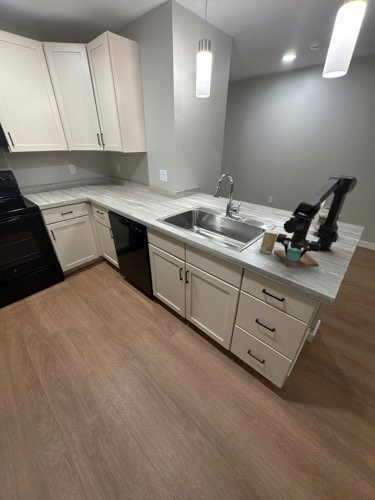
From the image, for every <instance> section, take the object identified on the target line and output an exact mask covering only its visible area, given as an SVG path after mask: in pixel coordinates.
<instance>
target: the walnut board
mask: <svg viewBox="0 0 375 500" xmlns="http://www.w3.org/2000/svg"><path fill="white" fill-rule="evenodd" d="M302 250H303V249H301V250H300V251H301V252H302ZM273 253H274V254H275V255H276V257H277V258H278V259H279V260H280V261H281V262H282V263H283V264H284V265H285V266H286V267H287V268H288V267H290V268H291V267H319V265H320V264H319V263H318V262H317V261H316V260H315V259H314V258H313V257H311V256H310V255H309V253H308V252H306V253H305V254H304V255H303V256H302V257H301V258H300V259H299V260H298V261H296V262H292V261H289V260H287V258H286V254H285V249H283V250H282V249H279V250H278V249H277V250H276V249H273Z"/></svg>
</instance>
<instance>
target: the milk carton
mask: <svg viewBox="0 0 375 500" xmlns="http://www.w3.org/2000/svg"><path fill="white" fill-rule="evenodd" d="M325 202H326V200H325V201H324V202H323V203H322V204H321V209H320V210H319V211H321V210H322V209H323V208H324V205H325ZM318 213H319V212H318ZM318 213H317V214H316V216H315V219H312V222H311V225H313V226H314V224H315V223H317V222H318V219H319V215H318Z"/></svg>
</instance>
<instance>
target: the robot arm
mask: <svg viewBox="0 0 375 500" xmlns="http://www.w3.org/2000/svg"><path fill="white" fill-rule="evenodd" d="M357 183H358V179H357V178H356V176H351V175H344V174H343V175H342V174H339V175H336V174H335V175H330V177H329V178H328V180H327V181H326V182H325V183H324V184H323V185H322V186H321V187H320V188H319V189H318V190H317V191H316V192H315V193H314V194H313V195H312V196H309V197H306V198H305V199H304V200H301V202H300V203H299V204H298V206H297V207H296V208H295V210H294V211H293V213H292V214H291V216H292V217H290V218H289V220H287V221H285V222H284V223H283V229H284V231H285V233H287V234H292V236H291V238H290V237H287V236H288V235H287V234H284V233H277V237H276V241H275V243H279V244H281V246H283V247H284V250H285V254H286V255H287V252H288V249H289V248H295V249H298V250H302V252H301V254H300V257H299V259H300V258H301V257H302V256H303V255H304V254H305V253H308V252H316V253H318V252H332V251H333V249H331V247H332V244H333V243H336V242H337V241H338V240H339V233H338V230H339V227H338V224H337V222H338V220H339V219H338V217H339V214H340V215H341V211H342V209H343V206H344V203H345V202H346V201H345V200H346V198H347V196H348V195H349V194H350V193H351V192H352V191H353V190H354V188H355V187H356V186H357ZM332 194H333V198H332V201H331V204H330V206H329V207H330V209H329V212H328V215H327V218H326V221H325V222H324V223H323V224H322V225H320V226H319V229H318V231H316V232H317V237H316V238H318V237H319V238H318V240H317V241H316V240H311V241H310V240H309V239H307V236H308V234H309V230H310V227H311V225H312V224H311V222H312V219H315V216H316V214H317V213H318V212H319V210H320V209H321V204H322V203H323V202H324V201H325V202H326V200H327V199H328V198H329V197H330V196H331V195H332ZM325 202H324V203H325Z"/></svg>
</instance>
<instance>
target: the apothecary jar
mask: <svg viewBox="0 0 375 500" xmlns="http://www.w3.org/2000/svg"><path fill="white" fill-rule="evenodd" d="M329 209H330V206H325V207H324V206H323V208H322V210H321V211H319V213H318V215H319V219H318V221H317V223H315V224H314V225H313V229H314V230H315V231H314V232H313V233H312V235H313V236H314V237H316V238H318V239H319V237H317V231H318V229H319V226H320V225H322V224H323V223H324V222H325V221H326V218H327V215H328V212H329ZM341 217H342V215H341V213H340V214H339V217H338V220H340V219H341Z"/></svg>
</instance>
